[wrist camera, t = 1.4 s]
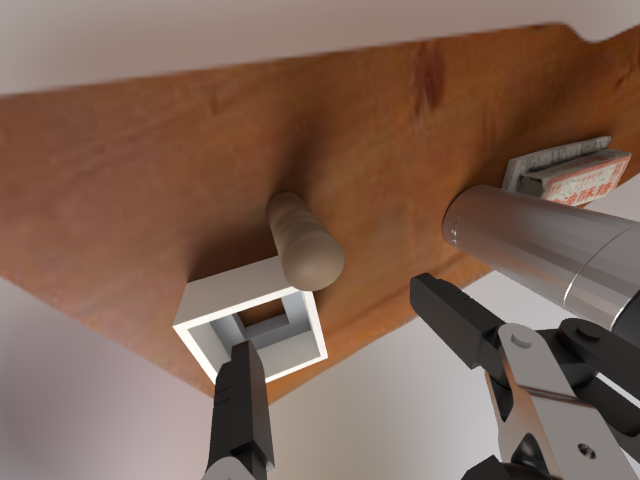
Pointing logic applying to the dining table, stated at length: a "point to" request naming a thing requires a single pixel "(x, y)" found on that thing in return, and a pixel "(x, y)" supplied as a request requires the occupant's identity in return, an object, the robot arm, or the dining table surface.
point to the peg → (303, 244)
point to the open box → (267, 336)
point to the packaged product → (568, 172)
